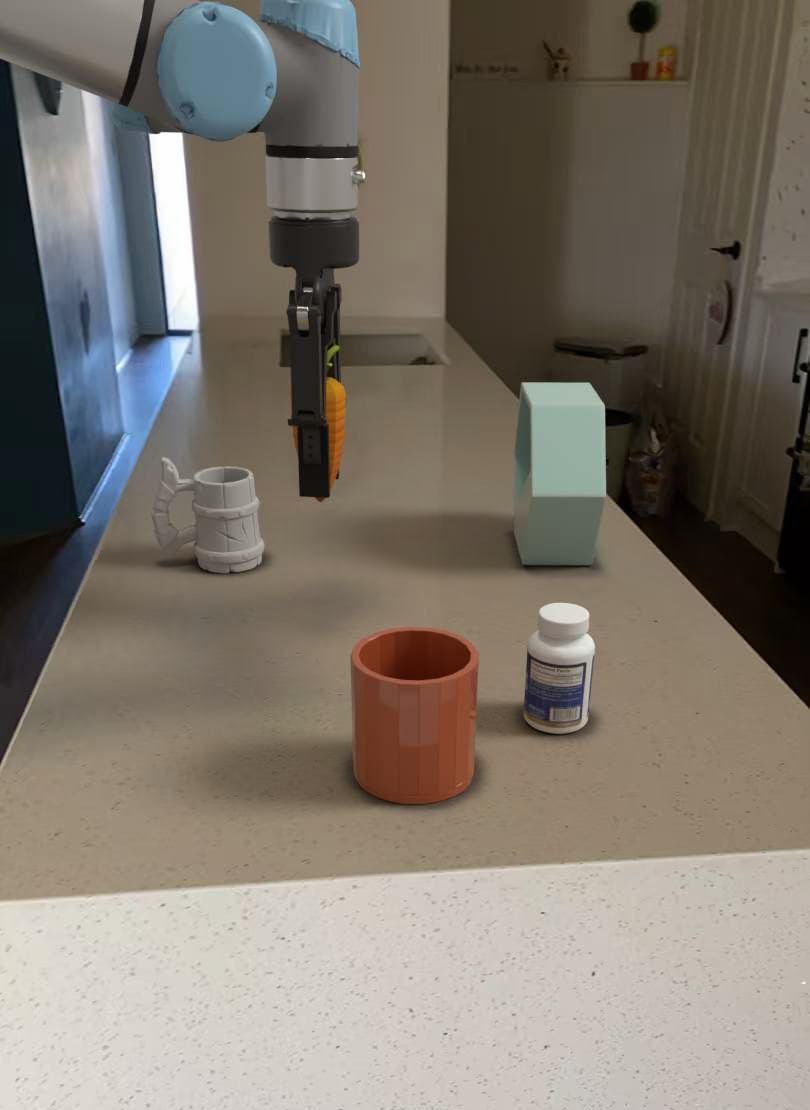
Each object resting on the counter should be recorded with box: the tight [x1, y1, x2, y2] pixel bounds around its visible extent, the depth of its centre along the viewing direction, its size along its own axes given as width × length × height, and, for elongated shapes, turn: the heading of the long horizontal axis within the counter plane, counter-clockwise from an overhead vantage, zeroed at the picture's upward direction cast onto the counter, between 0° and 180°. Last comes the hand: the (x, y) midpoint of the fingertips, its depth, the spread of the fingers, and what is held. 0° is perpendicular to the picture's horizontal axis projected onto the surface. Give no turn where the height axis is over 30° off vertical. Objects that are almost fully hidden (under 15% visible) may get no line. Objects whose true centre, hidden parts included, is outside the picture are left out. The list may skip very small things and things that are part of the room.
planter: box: [513, 381, 607, 566], centre depth 121 cm, size 17×8×21 cm
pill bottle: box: [523, 602, 596, 735], centre depth 88 cm, size 5×5×10 cm
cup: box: [350, 626, 480, 805], centre depth 81 cm, size 9×9×10 cm
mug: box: [150, 456, 266, 574], centre depth 118 cm, size 8×12×12 cm, turn 101°
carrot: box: [289, 345, 347, 503], centre depth 99 cm, size 5×5×15 cm
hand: (319, 486), depth 101 cm, fingers closed on carrot, 5 cm apart
